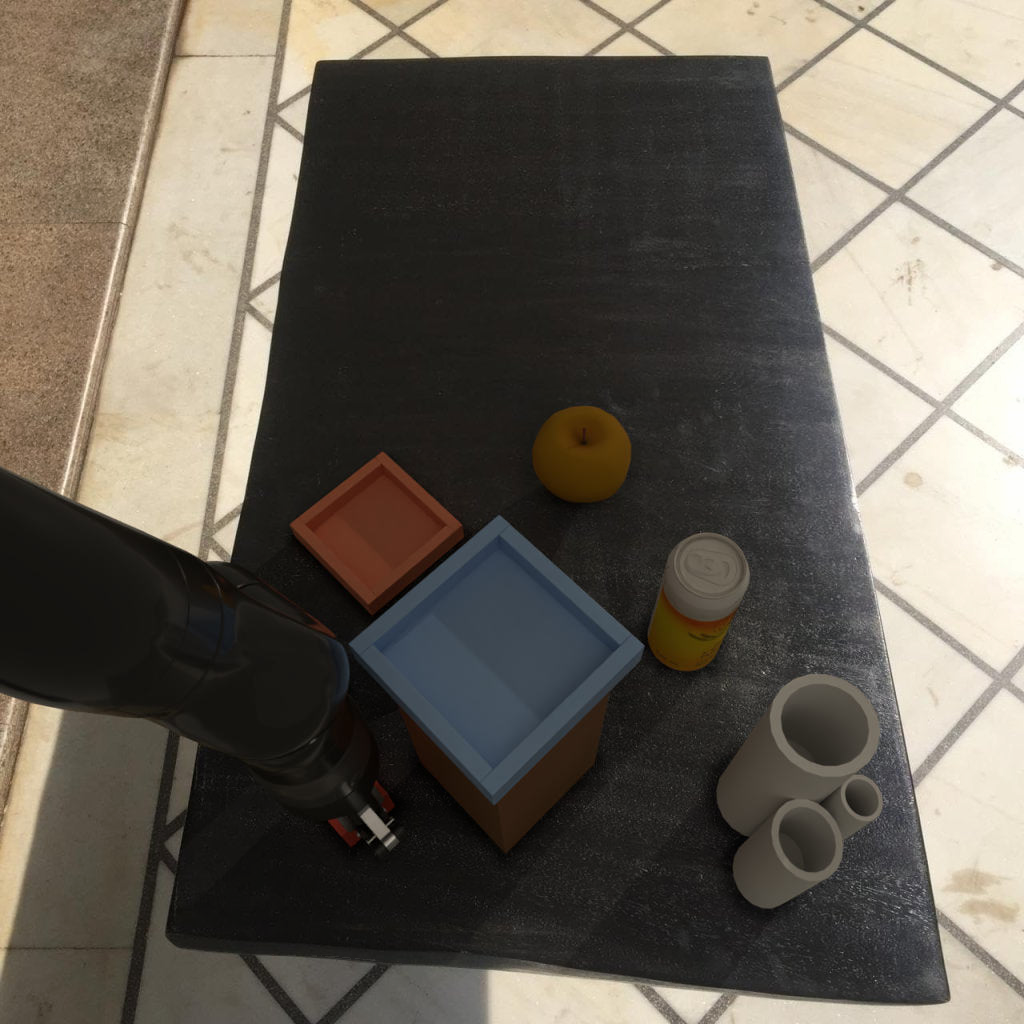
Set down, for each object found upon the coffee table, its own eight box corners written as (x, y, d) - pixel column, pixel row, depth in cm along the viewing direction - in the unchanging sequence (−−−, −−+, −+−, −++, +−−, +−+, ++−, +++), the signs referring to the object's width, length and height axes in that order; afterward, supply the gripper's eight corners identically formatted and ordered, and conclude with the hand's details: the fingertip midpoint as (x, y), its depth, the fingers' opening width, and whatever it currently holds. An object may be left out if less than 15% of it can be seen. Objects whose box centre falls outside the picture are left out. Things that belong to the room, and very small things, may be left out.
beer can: (708, 683, 81) (742, 614, 68) (638, 661, 82) (658, 589, 69) (724, 619, 84) (760, 540, 71) (656, 599, 85) (679, 518, 72)
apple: (635, 520, 89) (645, 469, 81) (538, 531, 88) (539, 481, 81) (618, 438, 93) (626, 382, 85) (526, 448, 93) (525, 393, 85)
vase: (706, 763, 78) (756, 681, 60) (794, 750, 78) (868, 665, 61) (742, 913, 73) (808, 870, 55) (835, 898, 73) (930, 852, 55)
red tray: (372, 615, 85) (368, 605, 83) (294, 536, 89) (289, 524, 87) (464, 537, 88) (462, 524, 86) (386, 464, 92) (382, 450, 90)
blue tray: (505, 873, 74) (492, 796, 51) (402, 761, 79) (347, 643, 55) (612, 763, 78) (645, 645, 55) (508, 662, 82) (499, 514, 59)
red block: (351, 847, 75) (341, 836, 71) (315, 805, 77) (303, 792, 73) (395, 806, 77) (387, 793, 73) (358, 765, 78) (349, 750, 75)
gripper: (198, 709, 63) (262, 773, 78) (336, 875, 58) (377, 910, 73) (289, 633, 66) (335, 710, 81) (430, 786, 60) (450, 837, 75)
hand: (354, 804), depth 77 cm, fingers closed on red block, 4 cm apart
